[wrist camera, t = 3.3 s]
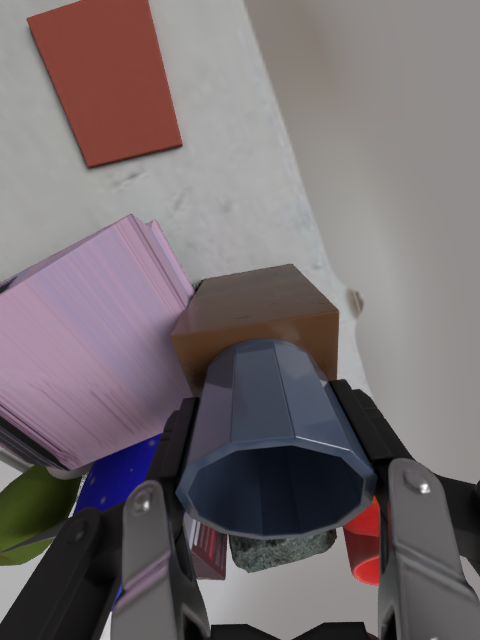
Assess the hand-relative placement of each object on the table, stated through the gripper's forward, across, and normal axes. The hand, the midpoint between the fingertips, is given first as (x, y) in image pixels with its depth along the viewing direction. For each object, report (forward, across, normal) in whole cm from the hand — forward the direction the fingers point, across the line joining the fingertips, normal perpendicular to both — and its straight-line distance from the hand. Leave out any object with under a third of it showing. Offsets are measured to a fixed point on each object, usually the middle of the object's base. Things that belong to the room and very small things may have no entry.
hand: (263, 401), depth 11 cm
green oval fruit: (+11, +30, +18) cm, 37 cm away
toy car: (+11, +16, 0) cm, 19 cm away
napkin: (+11, +6, -17) cm, 21 cm away
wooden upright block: (+11, 0, 0) cm, 11 cm away
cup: (+1, 0, 0) cm, 1 cm away
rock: (+8, +6, +40) cm, 42 cm away
